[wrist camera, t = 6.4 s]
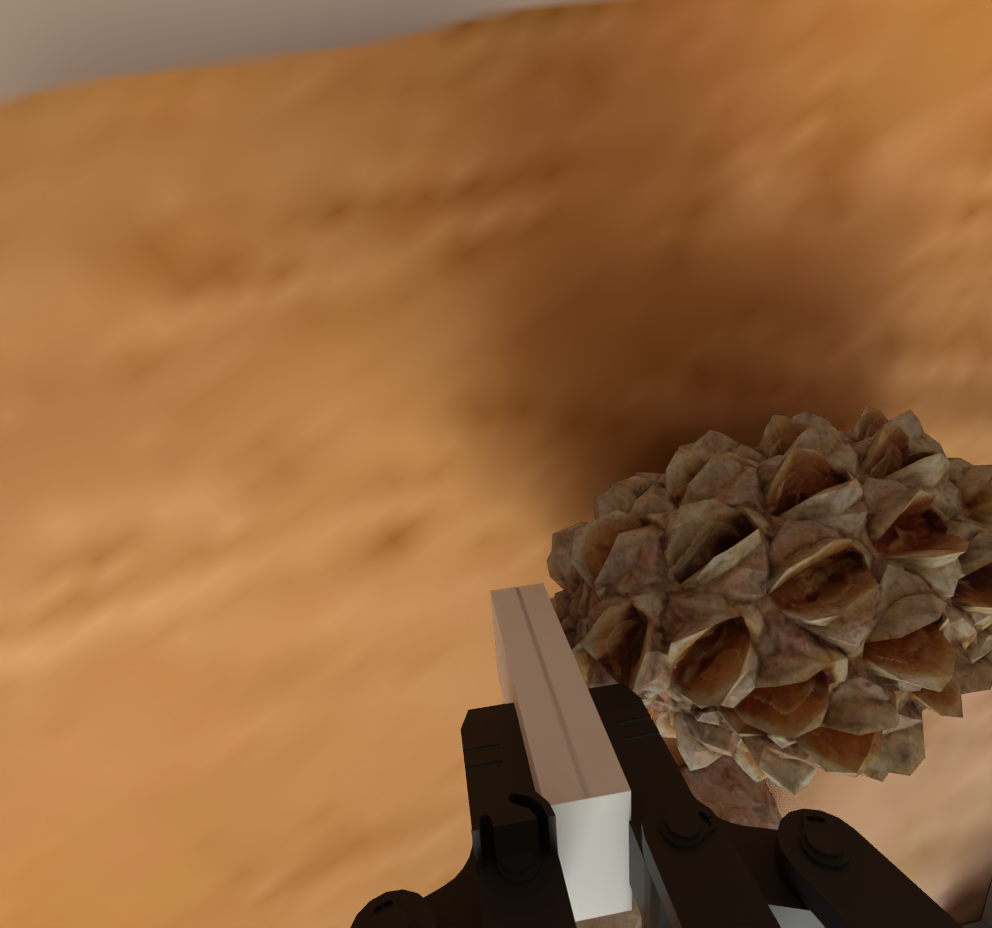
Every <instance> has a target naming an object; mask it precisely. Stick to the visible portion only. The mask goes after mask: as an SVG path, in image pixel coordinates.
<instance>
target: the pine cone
mask: <svg viewBox="0 0 992 928" xmlns="http://www.w3.org/2000/svg"><path fill="white" fill-rule="evenodd" d="M991 481H992V465H977V466H974V465H972V464H970V463H969V462H967V461H965V460H963V459H961V458H947V457H946V455H945V453H944V451H943V449H942V447H941V445H940V444H939V443H938V442H937V441H935V440H934V439H933V438H931V437H930V436H929V435H927V434H926V433H925V432H924V430H923V428H922V426H921V423H920V421H919V419H918V417H917V416H916V415H915V414H914V413H913V412H912V411H911V410H909V411H907V412H905V413H903V414H901V415H899V416H896V417H894V418H892V419H890V420H889V421H888V420H887V419H886V417H885V416H884V415H883V414H882V413H881V411H879V410H876V409H873V408H869V407H866V406H865V408H864V410H863V412H862V414H861V416H860V418H859V420H858V422H857V424H856V425H855V427H854V428H853V430H852V432H851V433H850V434H846V433H845V432H843V431H838V430H837V429H836V428H835V427H833V425H832V423H831V421H830V420H827V419H825V418H822V417H820V416H817V415H815V414H812V413H810V412H807V411H805V412H803V413H800V414H798V415H795V416H793V417H792V418H789V417H786V416H783V415H773V416H772V418H771V420H770V422H769V424H768V423H767V426H766V428H765V431H764V434H763V438H762V440H761V443H760V445H759V446H757V447H751V446H746V445H742V444H740V443H738V442H736V441H735V440H733V439H731V438H729V437H728V436H726V435H724V434H722V433H720V432H716V431H712V430H709V431H708V432H707V433H706V434H705V435H703V436H702V437H701V438H700V439H699V440H697V441H696V442H695V443H691V444H686V445H681V446H679V449H678V450H677V451H676V453H675V454H674V456H673V458H672V460H671V461H670V463H669V465H668V467H667V468H666V473H665V474H659V473H646V472H636V474H635V476H632V477H630V478H627V479H624V480H621V481H618V482H616V483H613V484H610V489H609V490H607V491H605V492H604V493H602V494H600V495H598V496H597V497H595V498H594V506H595V520H594V521H592V522H591V523H586V522H581V523H578V524H576V525H573V526H571V527H568V528H566V529H563V530H561V531H558V532H556V533H553V534H552V551H551V553H550V555H549V557H548V559H547V564H548V569H549V574H550V577H551V578H552V579H553V580H554V581H555V582H556V583H557V584H558V585H559V586H560V587H561V588H563V589H564V590H563V591H560V592H557V593H555V596H554V597H553V598H551V599H550V601H551V603H552V605H553V608H554V610H555V613H556V615H557V617H558V620H559V622H560V624H561V627H562V629H563V631H564V634H565V636H566V638H567V641H568V643H569V646H570V648H571V650H572V653H573V655H574V657H575V660H576V662H577V664H578V667H579V669H580V672H581V674H582V676H583V679H584V681H585V683H586V686H587V688H588V689H589V688H595V687H601V686H607V685H613V684H619V683H624V684H625V685H626V686H627V687H628V688H630V689H631V690H632V691H633V692H635V693H636V694H637V695H638V696H639V697H641V699H642V701H643V703H644V705H645V707H650V708H651V709H652V710H654V711H655V712H656V713H657V714H658V716H657V721H656V725H657V728H658V730H659V732H660V734H661V737H668V738H676V739H677V748H678V750H679V752H680V753H681V755H682V757H683V759H684V761H685V762H686V764H687V766H688V768H689V769H690V771H692V770H696V769H700V768H703V767H707V766H708V765H710V764H711V763H713V762H714V761H715V760H717V759H718V758H719V757H721V756H722V755H723V754H724V755H728V756H731V757H732V758H733V759H734V760H735V761H736V762H737V764H738V765H739V766H740V767H741V768H742V770H743V771H744V772H745V773H747V774H748V775H749V776H750V777H751V778H752V779H753V780H754V781H755V782H758V781H761V780H763V779H765V778H767V777H768V778H769V779H770V780H771V781H772V782H773V783H774V784H775V785H777V786H779V787H781V788H783V789H785V790H787V791H788V792H790V793H792V794H794V795H795V794H796V793H798V792H799V791H801V790H802V789H804V788H805V787H807V786H808V784H809V783H810V781H811V780H812V778H813V777H814V775H815V773H816V772H817V770H818V769H819V768H823V769H824V770H825V771H826V772H831V773H836V774H841V775H846V776H850V777H857V776H858V775H859V774H860V775H863V776H867V777H870V778H873V779H876V780H879V781H882V782H883V780H884V779H885V777H886V776H887V775H888V773H889V772H890V773H896V774H902V775H908V776H910V775H911V774H912V773H913V772H914V770H915V769H916V768H917V767H918V765H919V764H920V763H921V762H922V761H923V759H924V758H925V749H924V736H923V723H922V711H923V710H924V709H926V708H927V709H929V710H931V711H933V712H935V713H937V714H940V715H942V716H952V717H962V718H963V713H962V701H961V694H964V693H971V692H977V691H984V690H990V689H991V687H992V482H991Z"/></svg>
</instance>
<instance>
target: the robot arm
mask: <svg viewBox="0 0 992 928" xmlns="http://www.w3.org/2000/svg"><path fill="white" fill-rule="evenodd" d="M490 593H491V603H492V613H493V624H494V634H495V645H496V655H497V666H498V676H499V681H500V686H501V690H502V695H503V700H504V704H501V705H495V706H489V707H483V708H477V709H471V710H468V712H467V715H466V717H465V720H464V722H463V725H462V728H461V735H462V744H463V753H464V762H465V770H466V779H467V788H468V797H469V806H470V815H471V824H472V839H473V846H472V849H471V853H470V857H469V859H468V861H467V862H466V864H465V866H464V868H463V869H462V870H461V871H460V873H459V874H458V875H457V876H456V877H455V878H454V879H453V880H451V881H450V882H449V883H447V884H446V885H445V886H443V887H441V888H440V889H438V890H436V891H434V892H433V893H431V894H429V895H427V896H426V897H424V898H423V897H422V896H421V895H419V894H418V893H414V892H411V891H407V890H397V891H390V892H386V893H384V894H382V895H380V896H378V897H376V898H375V899H373V900H371V901H370V902H369V903H368V904H367V905H366V906H365V907H364V908H363V909H362V910H361V911H360V912H359V913H358V914H357V916H356V918H355V920H354V922H353V924H352V926H351V928H577V927H576V923H575V922H576V921H581V920H586V919H591V918H596V917H600V916H605V915H610V914H615V913H620V912H624V911H629V910H632V892H633V895H634V897H635V900H636V903H637V906H638V909H639V911H640V914H641V917H642V928H963V927H962V926H961V925H960V924H959V923H957V922H956V921H955V920H954V919H953V918H952V917H951V916H950V915H949V914H948V913H946V912H945V911H944V910H943V909H942V908H941V907H940V906H939V905H938V904H937V903H935V902H934V901H933V900H932V899H931V898H930V897H929V896H928V895H927V894H926V893H924V892H923V891H922V890H921V889H920V888H919V887H918V886H917V885H916V884H915V883H913V882H912V881H911V880H910V879H909V878H908V877H907V876H906V875H905V874H903V873H902V872H901V871H900V870H899V869H898V868H897V867H896V866H895V865H894V864H892V863H891V862H890V861H889V860H888V859H887V858H886V857H885V856H884V855H883V854H881V853H880V852H879V851H878V850H877V849H876V848H875V847H874V846H873V845H872V844H870V843H869V842H868V841H867V840H866V839H865V838H864V837H863V836H862V835H860V834H859V833H858V832H857V831H856V830H855V829H854V828H852V827H851V826H849V825H848V824H847V823H845V822H844V821H842V820H841V819H840V818H838V817H835V816H833V815H830V814H828V813H825V812H823V811H820V810H811V809H800V810H796V811H792V812H789V813H788V814H787V815H786V816H785V817H784V818H782V819H781V820H780V823H779V827H778V830H776V829H768V828H760V827H751V826H744V825H739V824H735V823H731V822H728V821H726V820H723V819H721V818H719V817H717V816H716V814H715V813H714V812H713V811H712V810H711V809H710V808H709V807H707V806H706V805H704V804H703V803H701V802H700V801H698V800H697V799H696V798H695V797H694V795H693V794H692V792H691V791H690V789H689V787H688V785H687V783H686V781H685V779H684V778H683V776H682V774H681V772H680V770H679V768H678V766H677V764H676V763H675V761H674V759H673V757H672V755H671V753H670V751H669V750H668V748H667V746H666V744H665V742H664V740H663V738H662V737H661V735H659V731H658V729H657V727H656V725H655V724H654V722H653V720H651V717H650V714H649V712H648V710H647V709H646V707H645V705H644V703H643V701H642V699H641V697H639V696H638V695H637V694H636V693H635V692H633V691H632V690H631V689H630V688H628V687H627V686H626V685H625V684H624V683H619V684H613V685H607V686H601V687H595V688H589V689H588V688H587V686H586V683H585V681H584V679H583V676H582V674H581V672H580V669H579V667H578V664H577V662H576V660H575V657H574V655H573V653H572V650H571V648H570V646H569V643H568V641H567V638H566V636H565V634H564V631H563V629H562V627H561V624H560V622H559V620H558V617H557V615H556V613H555V610H554V608H553V605H552V603H551V601H550V598H549V596H548V594H547V591H546V589H545V587H544V584H543V583H541V584H534V585H527V586H520V587H513V588H506V589H499V590H492V591H490Z"/></svg>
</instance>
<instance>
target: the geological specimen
mask: <svg viewBox="0 0 992 928" xmlns="http://www.w3.org/2000/svg"><path fill="white" fill-rule="evenodd" d="M679 770H680V772H681V774H682V776H683V778H684V779H685V781H686V783H687V785H688V787H689V789H690V791H691V792H692V794H693V795H694V797H695V798H696V799H697V800H698V801H700V802H701V803H703V804H704V805H706V806H707V807H709V808H710V809H711V810H712V811H713V812H714V813H715V814H716V816H717V817H719V818H721V819H723V820H726V821H728V822H731V823H735V824H739V825H744V826H751V827H760V828H768V829H776V830H778V827H779V823H780V820H781V819H782V818H781V816H780V813H779V811H778V809H777V805H776V801H775V799H774V797H773V795H772V794H771V792H770V791H769V790H768V787H767V785H766V782H765V780H764V779H763V780H761V781H758V782H755V781H754V780H753V779H752V778H751V777H750V776H749V775H748V774H747V773H745V772H744V771H743V770H742V768H741V767H740V766H739V765H738V764H737V762H736V761H735V760H734V759H733V758H732V757H731V756H728V755H722V756H721V757H719V758H718V759H717V760H715V761H714V762H713V763H711V764H710V765H708V766H707V767H703V768H700V769H696V770H692V771H690V769H689V768H688V766H687V765H685V766H683V767H681V768H679ZM575 923H576V927H577V928H642V917H641V914H640V911H639V909H638V906H637V903H636V900H635V897H634V895H633V892H632V910H629V911H624V912H620V913H615V914H610V915H605V916H600V917H596V918H591V919H586V920H581V921H576V922H575Z"/></svg>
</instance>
